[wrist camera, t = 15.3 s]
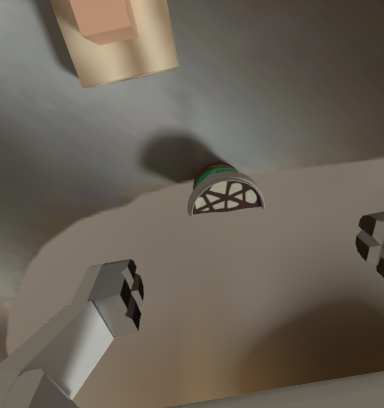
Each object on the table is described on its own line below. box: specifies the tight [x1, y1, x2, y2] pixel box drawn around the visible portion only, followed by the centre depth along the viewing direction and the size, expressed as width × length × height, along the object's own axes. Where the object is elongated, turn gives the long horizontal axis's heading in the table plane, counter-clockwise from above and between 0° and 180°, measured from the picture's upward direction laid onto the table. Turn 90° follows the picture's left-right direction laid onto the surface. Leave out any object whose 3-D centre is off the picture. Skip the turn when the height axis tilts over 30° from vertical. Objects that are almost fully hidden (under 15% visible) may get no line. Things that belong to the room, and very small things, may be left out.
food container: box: [188, 163, 265, 217], centre depth 38 cm, size 12×6×10 cm, turn 95°
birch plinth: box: [50, 0, 179, 88], centre depth 29 cm, size 13×13×5 cm
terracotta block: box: [70, 0, 139, 46], centre depth 24 cm, size 5×5×6 cm
